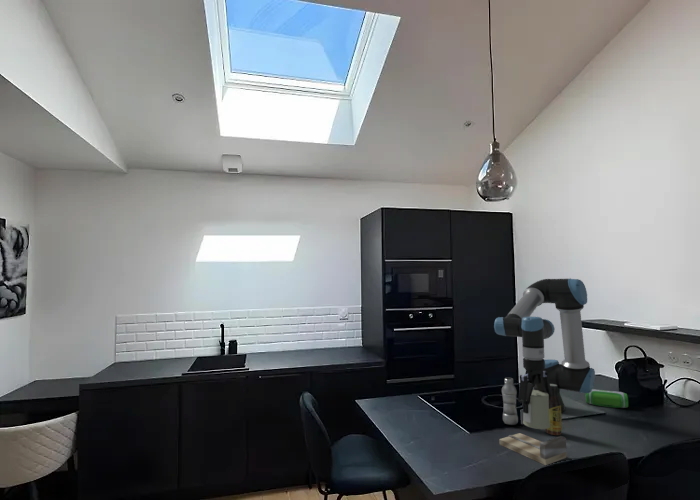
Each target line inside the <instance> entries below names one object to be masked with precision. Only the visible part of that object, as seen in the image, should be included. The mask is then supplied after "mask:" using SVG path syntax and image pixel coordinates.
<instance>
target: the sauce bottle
mask: <svg viewBox="0 0 700 500" xmlns="http://www.w3.org/2000/svg"><path fill="white" fill-rule="evenodd" d="M550 388H551V393H552V397H550V398H551V400H549V421H550V427H549V428H547V429H544V431H545V433H546V434H548V435H551V436H561V434H562V430H563V429H562V426H563V425H562V412H561V404H560V402H559V399H558V395H557V389H558V386H557V385H555V384H550Z"/></svg>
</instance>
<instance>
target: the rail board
mask: <svg viewBox="0 0 700 500" xmlns="http://www.w3.org/2000/svg"><path fill="white" fill-rule="evenodd" d="M498 441H499V446H502V447H504V448H506V449H509V450H510V451H512V452H515V453H518V454H519V455H522V456H524V457H527V458H529V459H531V460H533V461H535V462H537V463H540V464H542V465H544V466H548V465H551V464H553V463H555V462H558V461H561V460H564V459H566V458H567V457H568V454H567V438H566V437H565V436H563V435H557V436H556V437H553V438H550V439H547V440H544V441H541V440H538V439H535V438H534V437H531V436H528V435H525V434H524V433H520V432H519V433H515V434H509V435H508V436H506V437H503V438H499V440H498Z"/></svg>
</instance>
